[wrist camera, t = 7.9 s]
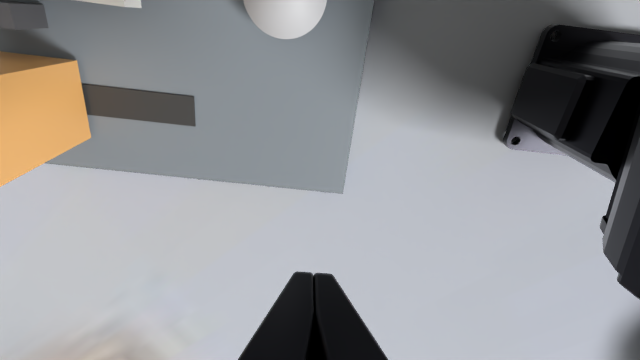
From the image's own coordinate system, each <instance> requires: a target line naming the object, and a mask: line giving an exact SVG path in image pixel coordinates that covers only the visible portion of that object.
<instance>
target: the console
mask: <svg viewBox="0 0 640 360" xmlns="http://www.w3.org/2000/svg"><path fill="white" fill-rule="evenodd" d="M373 5H374V0H141V6H142V8H132V7H121V6H113V5H106V4H98V3H91V2H84V1H76V0H0V51H2V52H10V53H19V54H27V55H36V56H44V57H53V58H61V59H70V60H77V63H78V68H79V74H80V79H81V84H82V90H83V95H84V101H85V106H86V112H87V117H88V122H89V128H90V133H91V138H90V139H88V140H86V141H84V142H82V143H80V144H79V145H77V146H75V147H73V148H71V149H69V150H67V151H66V152H64V153H62V154H60V155H58V156H56V157H54V158H53V159H51V160H49V161H47V162H45V163H47V164H56V165H66V166H76V167H86V168H95V169H105V170H115V171H125V172H134V173H144V174H154V175H164V176H173V177H183V178H193V179H203V180H212V181H222V182H232V183H242V184H251V185H261V186H271V187H281V188H290V189H300V190H310V191H320V192H329V193H339V194H343V189H344V183H345V177H346V171H347V165H348V158H349V152H350V146H351V140H352V134H353V128H354V122H355V115H356V109H357V103H358V97H359V91H360V85H361V79H362V72H363V66H364V60H365V54H366V48H367V42H368V36H369V30H370V23H371V17H372V11H373Z"/></svg>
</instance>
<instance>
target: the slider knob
mask: <svg viewBox="0 0 640 360" xmlns="http://www.w3.org/2000/svg"><path fill="white" fill-rule="evenodd" d="M90 138H91V133H90V128H89V122H88V117H87V112H86V106H85V101H84V95H83V90H82V84H81V79H80V74H79V68H78V63H77V60H70V59H61V58H53V57H44V56H36V55H27V54H19V53H10V52H2V51H0V187H1V186H2V185H4V184H6V183H8V182H10V181H12V180H14V179H15V178H17V177H19V176H21V175H23V174H25V173H27V172H28V171H30V170H32V169H34V168H36V167H38V166H40V165H41V164H43V163H45V162H47V161H49V160H51V159H53V158H54V157H56V156H58V155H60V154H62V153H64V152H66V151H67V150H69V149H71V148H73V147H75V146H77V145H79V144H80V143H82V142H84V141H86V140H88V139H90Z"/></svg>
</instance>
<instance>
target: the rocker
mask: <svg viewBox="0 0 640 360" xmlns="http://www.w3.org/2000/svg"><path fill="white" fill-rule="evenodd" d="M76 1H84V2H91V3H98V4H106V5H113V6H121V7H132V8H142V6H141V0H76Z"/></svg>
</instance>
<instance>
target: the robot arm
mask: <svg viewBox="0 0 640 360" xmlns="http://www.w3.org/2000/svg"><path fill="white" fill-rule="evenodd" d="M554 31H556V37H555V38H554V39H553V40H551V34H552V33H553V32H554ZM511 114H512V116H511V119H510V122H509V125H508V127H507V130H506V133H505V136H504V139H503V142H504V144H505V145H506V146H507V147H508V148H510V149H514V150H523V151H532V152H541V153H550V154H559V155H568V156H570V157H571V158H573V159H575V160H577V161H578V162H580V163H582V164H584V165H585V166H587V167H589V168H591V169H592V170H594V171H596V172H598V173H599V174H601V175H603V176H605V177H606V178H608V179H610V180H612V181H613V182H615V187H614V190H613V193H612V197H611V200H610V204H609V207H608V210H607V214H606V215H605V216H603V217H602V221H601V224H600V229H601V230H602V232H603V234H604V236H603V251H604V254H605V255H606V257H607V258H608V260H609V261H610V263H611V264H612V266H613V267H614V268H615V270H616V271H617V272H618V273H619V274H618V277H617V281H618V282H619V283H620V284H621V285H622V286H623V287H624V288H625V289H627V290H628V291H629V292H630V293H632V294H633V295H634V296H636V297H637V298H638V299H639V300H640V35H634V34H626V33H618V32H611V31H603V30H595V29H588V28H580V27H572V26H565V25H550V26H548V27H547V28H546V29H545V30H544V31H543V32H542V34H541V37H540V40H539V43H538V45H537V48H536V51H535V53H534V56H533V59H532V62H531V64H530V66H529V67H527V69H526V72H525V75H524V77H523V80H522V83H521V86H520V88H519V91H518V94H517V97H516V100H515V102H514V105H513V108H512V111H511ZM514 137H517V139H516V141H515V142H513V143H511V140H512V139H513V138H514ZM238 360H388V359H387V357H386V356H385V354H384V353H383V351H382V349H381V348H380V346H379V345H378V343H377V342H376V340H375V339H374V337H373V336H372V334H371V333H370V331H369V330H368V328H367V326H366V325H365V323H364V322H363V320H362V319H361V317H360V316H359V314H358V313H357V311H356V310H355V308H354V307H353V305H352V303H351V302H350V300H349V299H348V297H347V296H346V294H345V293H344V291H343V290H342V288H341V287H340V285H339V284H338V282H337V280H336V279H335V277H334V276H333V275H332V274H327V273H315V274H314V276H313V274H312V273H310V272H295V273H294V274H293V275H292V277H291V278H290V280H289V281H288V283H287V285H286V286H285V288H284V289H283V291H282V292H281V294H280V295H279V297H278V298H277V300H276V301H275V303H274V305H273V306H272V308H271V309H270V311H269V312H268V314H267V315H266V317H265V318H264V320H263V322H262V323H261V325H260V326H259V328H258V329H257V331H256V332H255V334H254V335H253V337H252V338H251V340H250V342H249V343H248V345H247V346H246V348H245V349H244V351H243V352H242V354H241V355H240V357H239V359H238Z"/></svg>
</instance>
